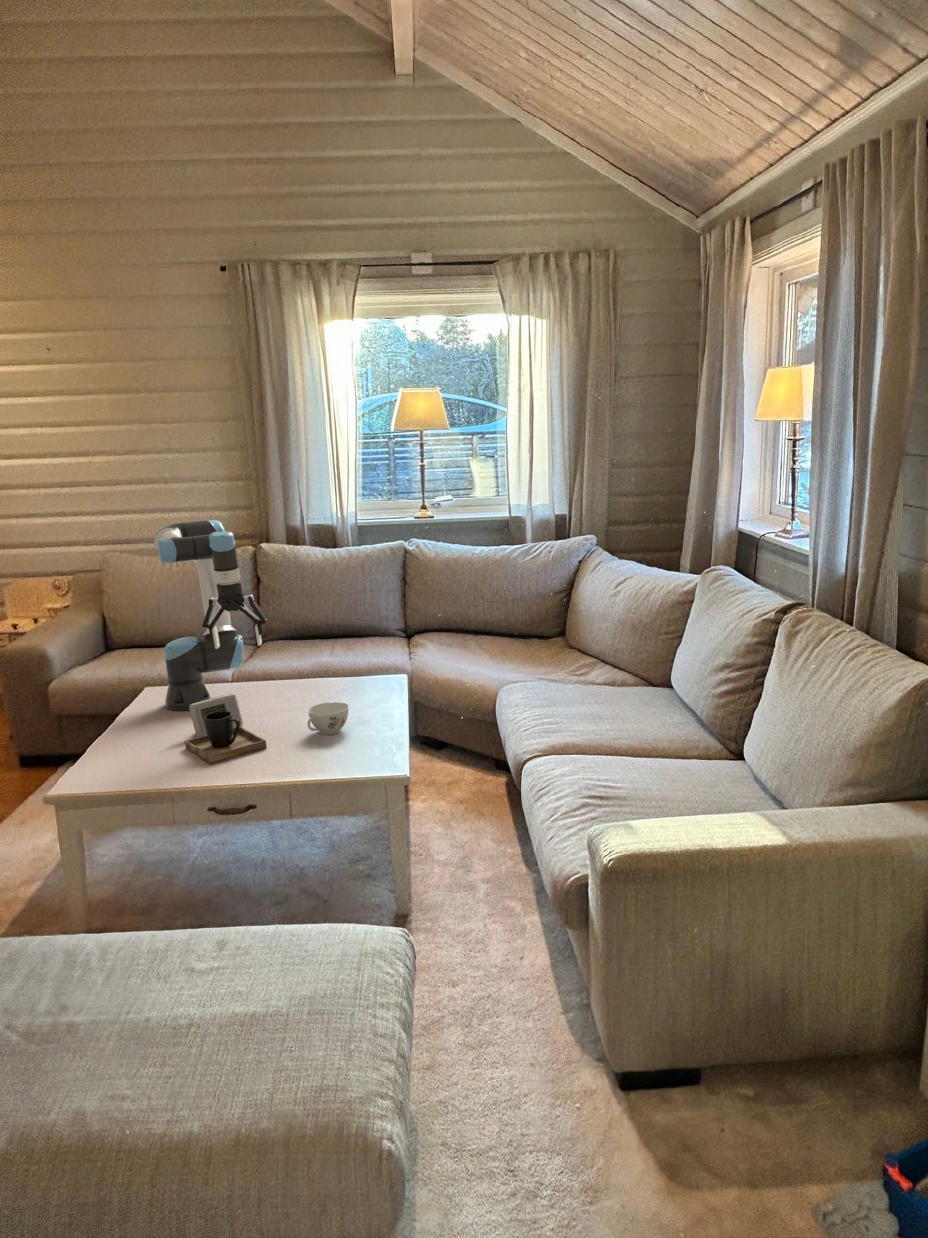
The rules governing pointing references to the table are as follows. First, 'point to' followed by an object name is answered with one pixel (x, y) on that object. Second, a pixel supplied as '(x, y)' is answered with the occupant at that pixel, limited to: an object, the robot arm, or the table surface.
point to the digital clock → (214, 705)
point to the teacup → (328, 717)
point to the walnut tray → (239, 747)
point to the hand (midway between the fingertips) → (238, 646)
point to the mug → (221, 728)
